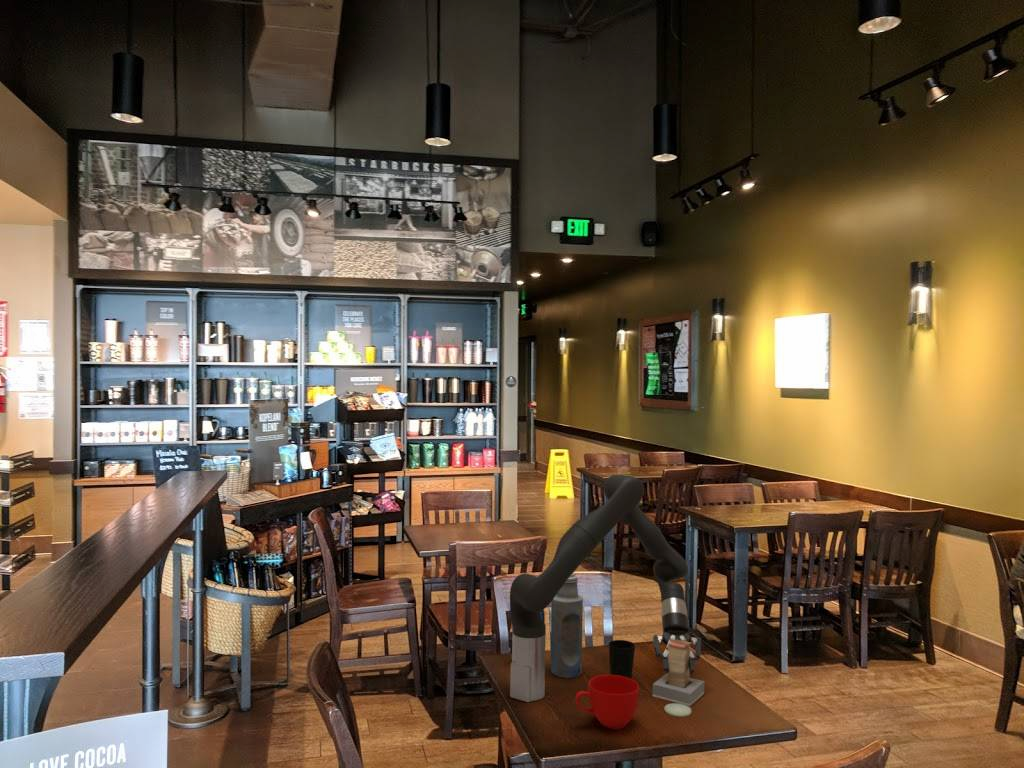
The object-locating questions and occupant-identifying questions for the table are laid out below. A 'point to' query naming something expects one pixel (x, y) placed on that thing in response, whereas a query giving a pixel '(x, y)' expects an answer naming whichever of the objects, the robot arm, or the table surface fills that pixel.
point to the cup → (621, 657)
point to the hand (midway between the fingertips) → (679, 672)
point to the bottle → (567, 630)
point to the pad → (677, 710)
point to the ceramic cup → (612, 699)
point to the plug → (678, 663)
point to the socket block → (678, 691)
